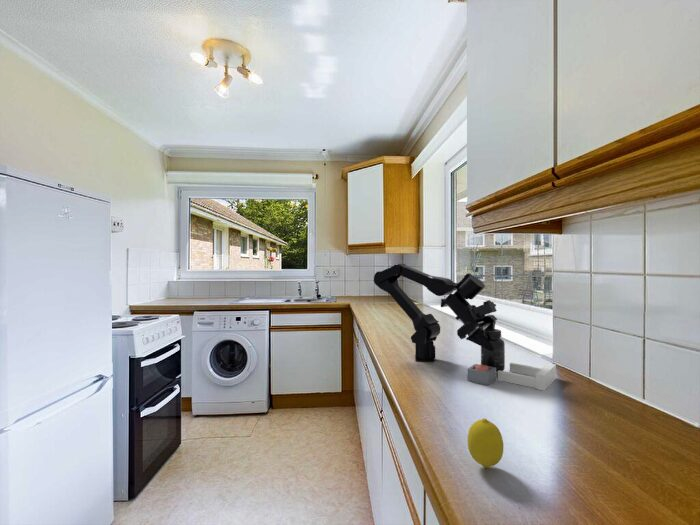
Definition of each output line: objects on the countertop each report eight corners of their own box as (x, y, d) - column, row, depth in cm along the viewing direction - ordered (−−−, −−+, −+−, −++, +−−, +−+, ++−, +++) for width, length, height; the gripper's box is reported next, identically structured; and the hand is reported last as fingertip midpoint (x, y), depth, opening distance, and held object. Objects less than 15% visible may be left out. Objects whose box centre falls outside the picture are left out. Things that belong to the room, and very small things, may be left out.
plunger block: (467, 380, 98) (467, 368, 98) (475, 375, 103) (475, 363, 103) (488, 385, 94) (488, 372, 94) (496, 379, 99) (496, 367, 99)
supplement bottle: (475, 367, 107) (475, 328, 107) (491, 364, 110) (491, 327, 110) (493, 373, 101) (493, 332, 101) (510, 370, 103) (509, 330, 103)
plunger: (473, 378, 98) (473, 366, 98) (478, 375, 101) (478, 363, 101) (485, 381, 96) (485, 368, 96) (490, 378, 99) (490, 366, 99)
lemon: (494, 457, 59) (493, 411, 59) (510, 477, 54) (509, 426, 54) (462, 458, 59) (462, 412, 59) (475, 478, 53) (474, 427, 53)
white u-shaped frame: (496, 380, 98) (496, 366, 98) (511, 370, 107) (511, 357, 108) (544, 390, 90) (544, 375, 90) (556, 378, 99) (555, 364, 99)
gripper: (466, 294, 101) (505, 337, 93) (490, 290, 115) (526, 327, 107) (442, 318, 106) (477, 360, 99) (468, 311, 120) (500, 348, 112)
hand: (497, 348), depth 104 cm, fingers closed on supplement bottle, 7 cm apart
